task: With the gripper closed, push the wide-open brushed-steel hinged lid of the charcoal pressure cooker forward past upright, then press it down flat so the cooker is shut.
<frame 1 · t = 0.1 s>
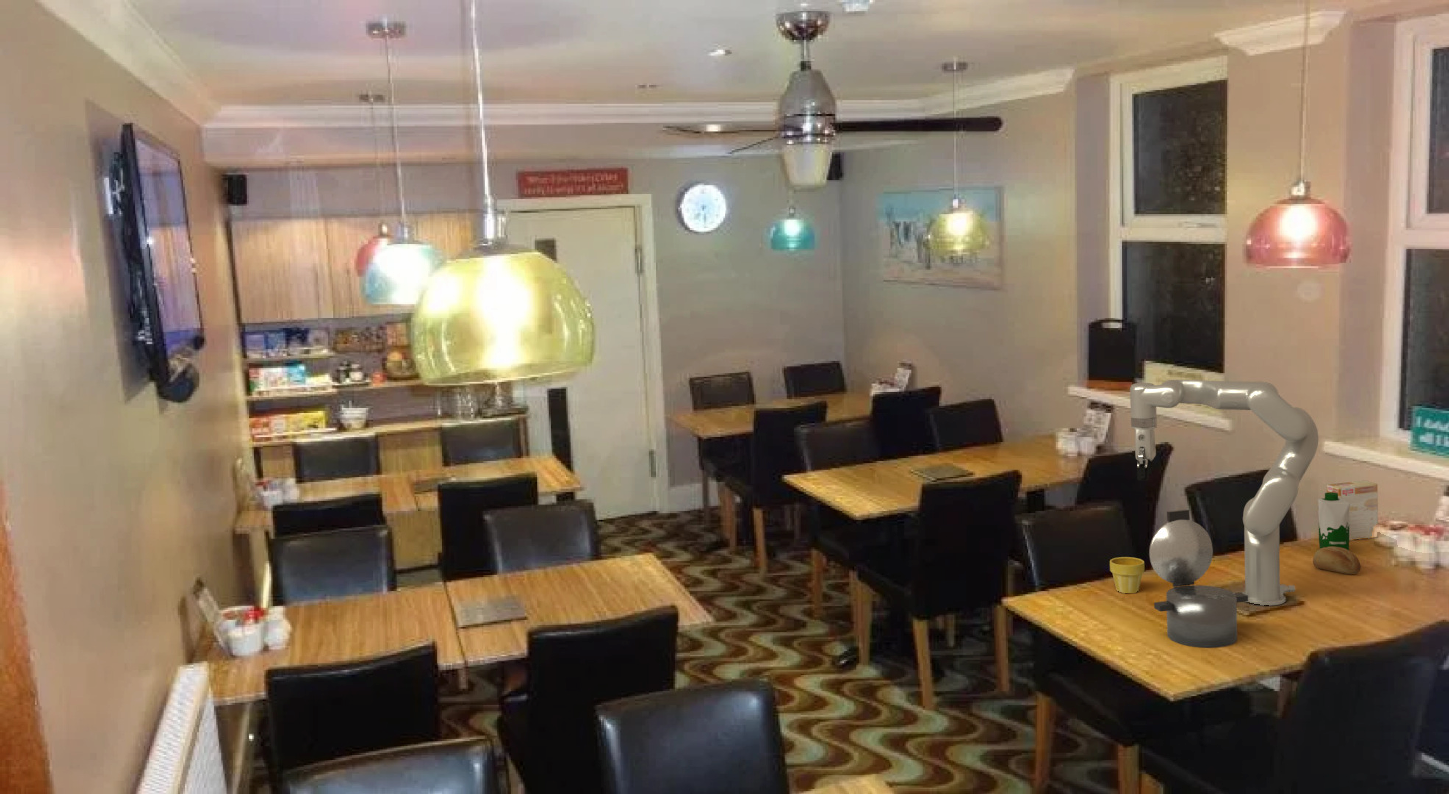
hand: (1145, 476, 353), 37 cm above the table, tool pointing down, fingers open, 9 cm apart
milk carton: (1334, 553, 385), on the table
bread roll: (1335, 572, 365), on the table
plant pot: (1127, 591, 360), on the table
pressure cooker: (1201, 636, 316), on the table
coffeecake box: (1352, 538, 401), on the table
cooker lid: (1179, 547, 324), point 23 cm above the table, hinge at 95.0°
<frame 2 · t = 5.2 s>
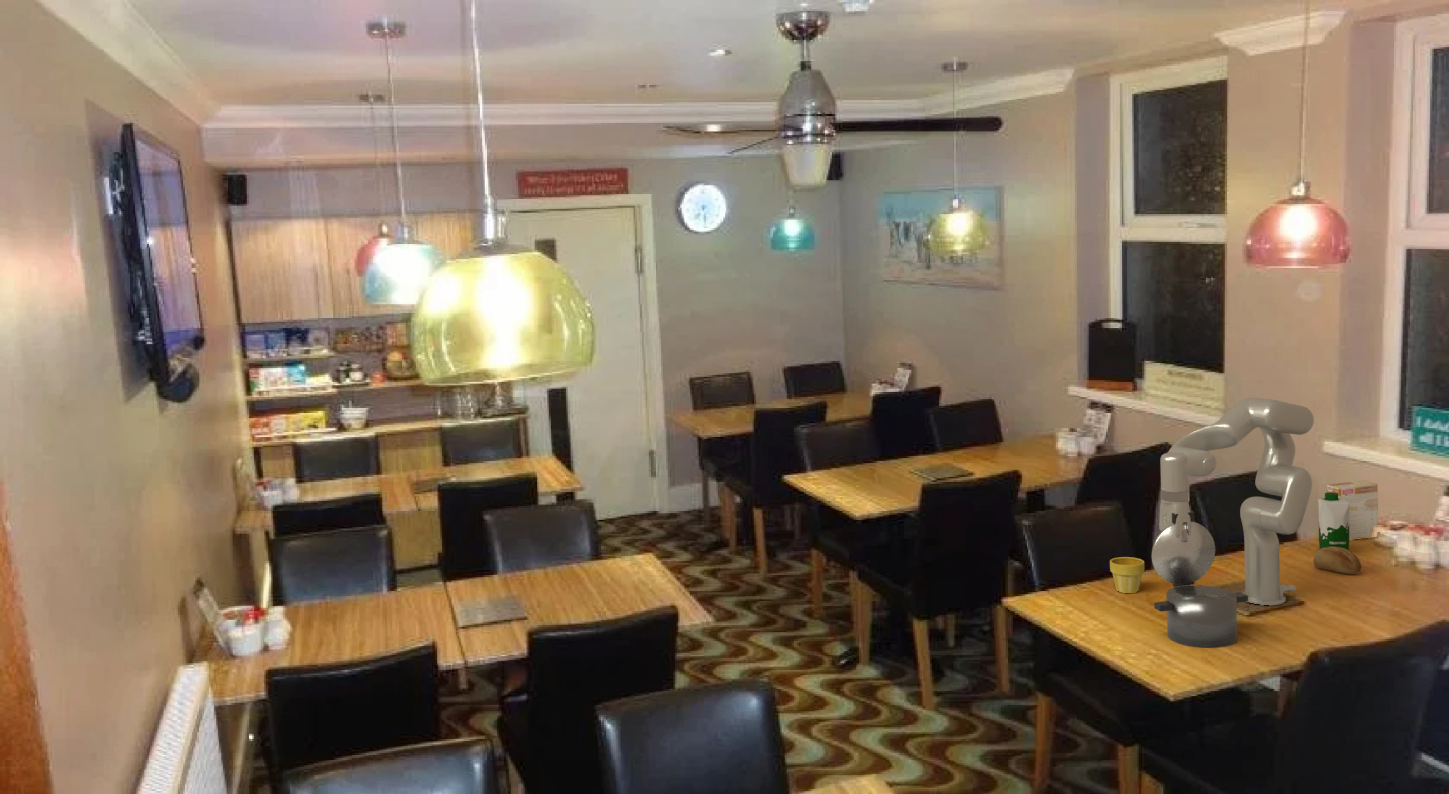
hand: (1176, 558, 326), 19 cm above the table, tool pointing down, fingers closed
cooker lid: (1181, 548, 323), point 23 cm above the table, hinge at 87.3°, touching gripper
everything else where it was.
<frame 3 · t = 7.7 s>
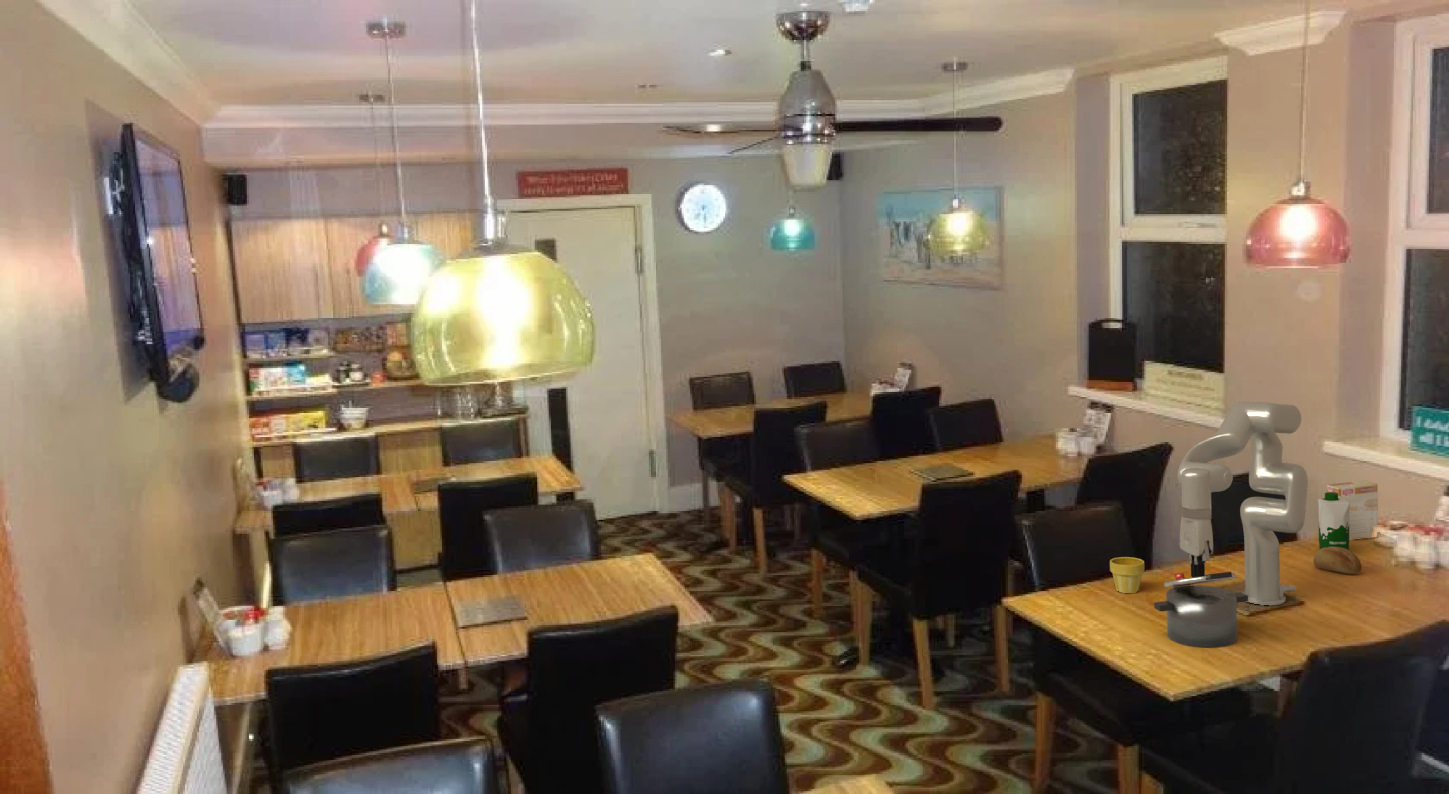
hand: (1197, 577, 315), 17 cm above the table, tool pointing down, fingers closed
cooker lid: (1200, 576, 314), point 17 cm above the table, hinge at 21.1°, touching gripper
everything else where it was.
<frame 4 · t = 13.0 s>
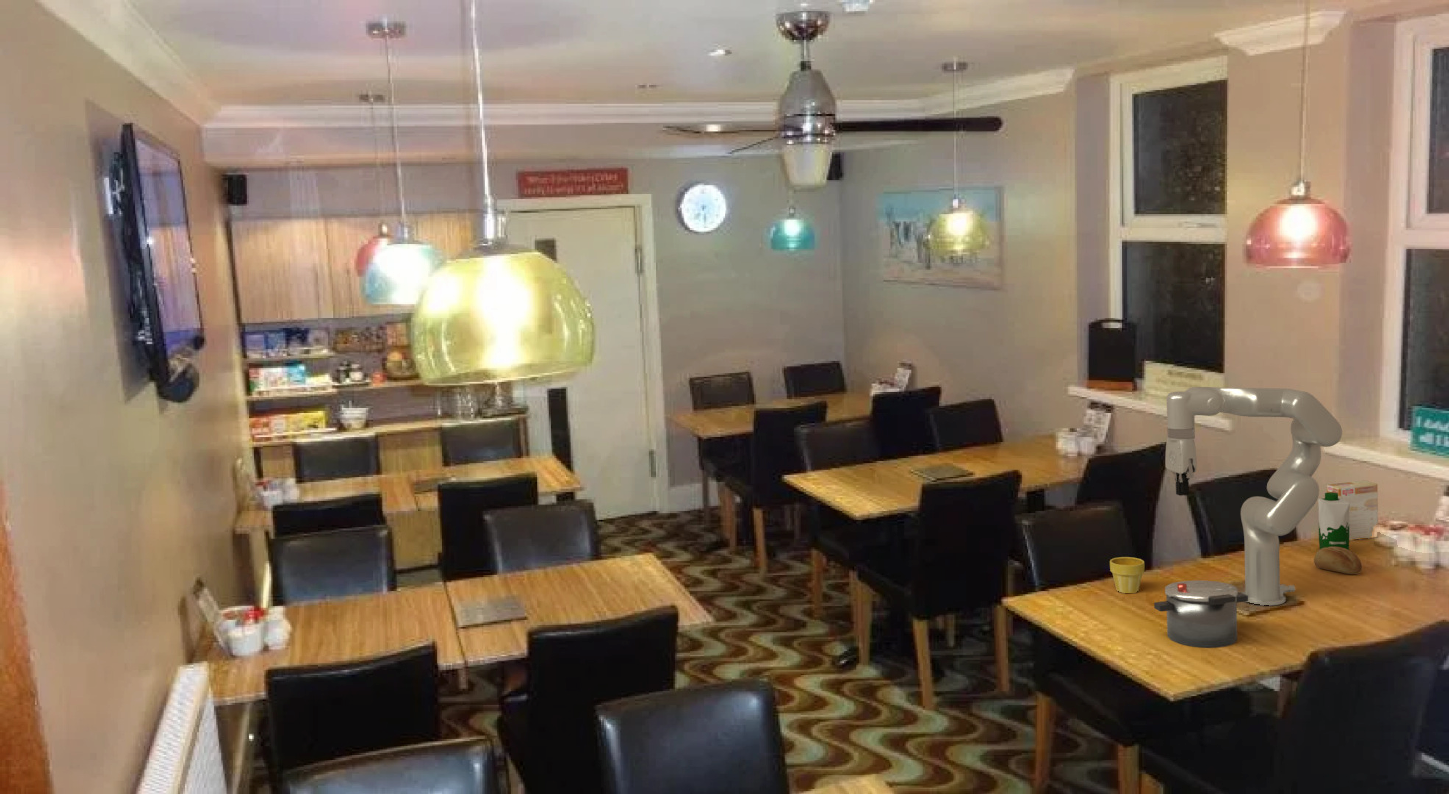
hand: (1182, 494, 335), 35 cm above the table, tool pointing down, fingers closed
cooker lid: (1202, 588, 313), point 14 cm above the table, hinge at 2.9°
everything else where it was.
at the end: cooker lid at +3° (first picture: +95°) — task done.
